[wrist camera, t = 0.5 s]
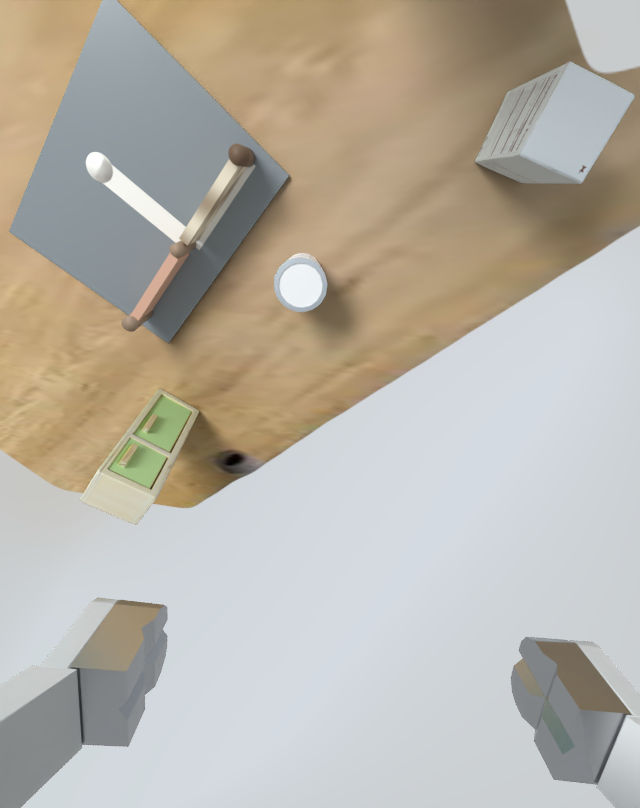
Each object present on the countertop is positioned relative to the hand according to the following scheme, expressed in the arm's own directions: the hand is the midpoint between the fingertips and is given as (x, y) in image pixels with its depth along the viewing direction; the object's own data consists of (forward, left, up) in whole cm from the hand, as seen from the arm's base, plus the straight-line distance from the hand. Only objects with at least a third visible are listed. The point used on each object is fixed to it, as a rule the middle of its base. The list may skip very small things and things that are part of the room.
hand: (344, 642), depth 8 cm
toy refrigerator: (+37, -2, -50) cm, 62 cm away
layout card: (+11, -21, -50) cm, 56 cm away
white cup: (+4, 0, -50) cm, 50 cm away
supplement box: (-25, +9, -50) cm, 57 cm away
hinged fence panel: (+17, -14, -49) cm, 54 cm away
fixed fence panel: (+3, -14, -50) cm, 52 cm away
